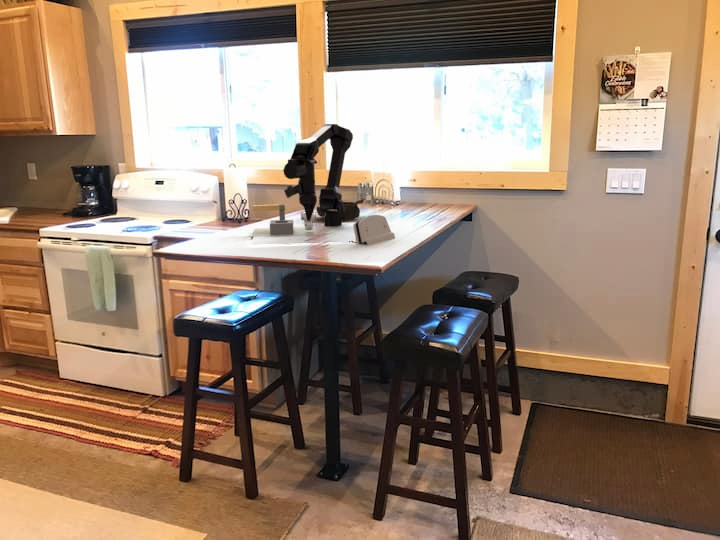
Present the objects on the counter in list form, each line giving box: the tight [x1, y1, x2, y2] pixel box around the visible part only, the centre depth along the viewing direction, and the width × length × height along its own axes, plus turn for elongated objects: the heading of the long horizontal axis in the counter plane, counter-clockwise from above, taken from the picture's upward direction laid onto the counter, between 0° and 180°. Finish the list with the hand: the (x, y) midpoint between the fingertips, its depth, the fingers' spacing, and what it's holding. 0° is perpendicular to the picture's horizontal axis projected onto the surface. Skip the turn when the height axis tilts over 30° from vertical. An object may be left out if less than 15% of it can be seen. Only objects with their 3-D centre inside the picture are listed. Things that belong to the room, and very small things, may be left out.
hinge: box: [352, 214, 396, 246], centre depth 209 cm, size 17×5×10 cm, turn 142°
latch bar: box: [252, 203, 286, 212], centre depth 229 cm, size 12×3×2 cm, turn 96°
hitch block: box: [250, 209, 318, 240], centre depth 224 cm, size 24×17×8 cm
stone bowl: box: [315, 197, 366, 222], centre depth 260 cm, size 25×25×9 cm
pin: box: [300, 211, 317, 230], centre depth 222 cm, size 6×6×6 cm
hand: (308, 219), depth 222 cm, fingers closed on pin, 5 cm apart
